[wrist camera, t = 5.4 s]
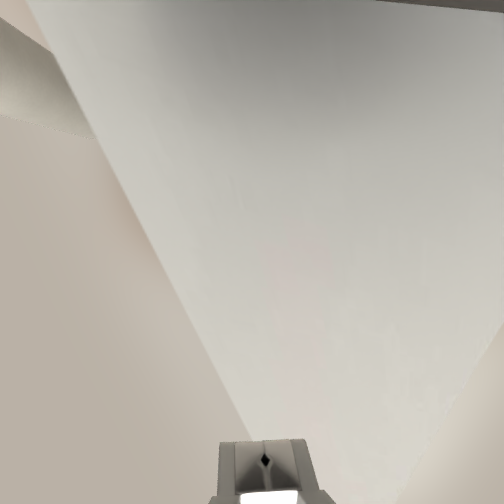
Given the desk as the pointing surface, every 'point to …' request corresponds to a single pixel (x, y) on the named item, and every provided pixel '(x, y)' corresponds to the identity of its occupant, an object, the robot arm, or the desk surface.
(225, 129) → the desk surface
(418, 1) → the oven door
